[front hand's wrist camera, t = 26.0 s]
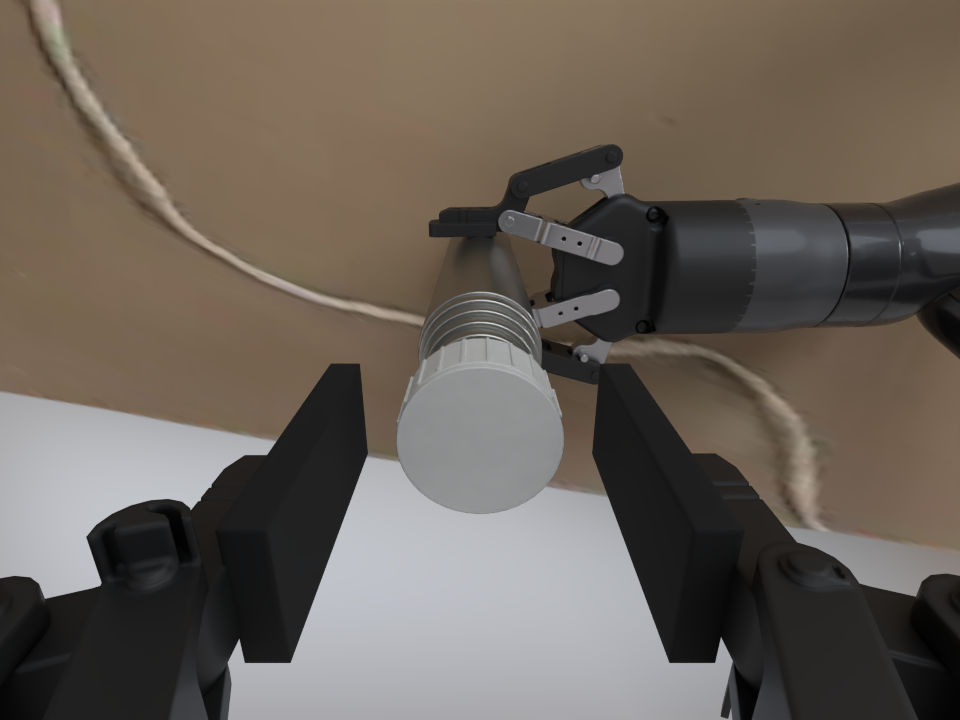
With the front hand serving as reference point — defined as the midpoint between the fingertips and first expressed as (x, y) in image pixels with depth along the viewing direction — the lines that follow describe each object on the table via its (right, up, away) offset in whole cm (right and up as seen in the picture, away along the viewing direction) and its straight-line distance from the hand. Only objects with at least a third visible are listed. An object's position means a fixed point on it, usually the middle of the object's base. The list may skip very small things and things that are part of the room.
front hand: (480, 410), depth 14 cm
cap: (0, -1, -1) cm, 1 cm away
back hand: (-3, +6, +16) cm, 18 cm away
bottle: (0, +9, +23) cm, 24 cm away
